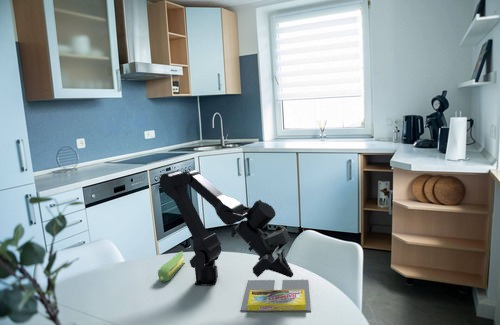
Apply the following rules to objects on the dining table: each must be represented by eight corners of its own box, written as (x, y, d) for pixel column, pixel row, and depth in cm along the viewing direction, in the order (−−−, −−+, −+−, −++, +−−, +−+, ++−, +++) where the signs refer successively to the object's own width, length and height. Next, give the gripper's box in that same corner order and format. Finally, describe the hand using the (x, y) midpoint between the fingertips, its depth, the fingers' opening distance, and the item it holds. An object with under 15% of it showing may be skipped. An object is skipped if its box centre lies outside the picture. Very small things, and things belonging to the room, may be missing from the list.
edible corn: (152, 272, 122) (164, 269, 121) (177, 250, 141) (187, 247, 140) (157, 286, 122) (169, 283, 121) (182, 262, 142) (192, 259, 140)
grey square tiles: (240, 311, 103) (240, 310, 103) (248, 281, 120) (247, 280, 120) (310, 311, 101) (310, 310, 100) (308, 280, 118) (308, 279, 118)
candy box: (304, 287, 108) (306, 304, 100) (304, 294, 108) (306, 311, 100) (249, 289, 110) (246, 305, 102) (250, 295, 110) (247, 312, 102)
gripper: (260, 231, 98) (303, 274, 96) (280, 210, 115) (317, 247, 113) (235, 256, 102) (275, 298, 100) (258, 233, 119) (293, 268, 117)
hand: (292, 276), depth 107 cm, fingers closed
